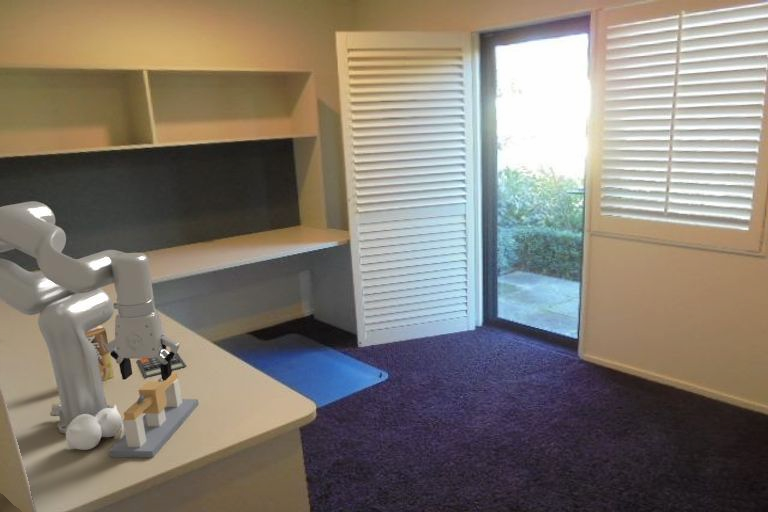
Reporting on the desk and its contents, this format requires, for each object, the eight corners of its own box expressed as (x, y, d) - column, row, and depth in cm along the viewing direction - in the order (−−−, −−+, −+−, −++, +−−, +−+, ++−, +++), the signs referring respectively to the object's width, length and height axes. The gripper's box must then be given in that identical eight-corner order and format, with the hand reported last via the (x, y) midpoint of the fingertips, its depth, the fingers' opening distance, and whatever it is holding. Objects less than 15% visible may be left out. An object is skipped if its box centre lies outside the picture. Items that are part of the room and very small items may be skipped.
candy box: (109, 373, 164) (100, 324, 161) (115, 377, 161) (105, 327, 158) (77, 384, 158) (67, 334, 154) (82, 388, 155) (72, 337, 152)
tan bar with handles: (123, 432, 122) (118, 407, 120) (167, 388, 141) (164, 367, 139) (140, 432, 121) (136, 407, 120) (182, 388, 140) (179, 367, 139)
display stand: (110, 456, 121) (103, 424, 119) (161, 404, 144) (157, 376, 142) (153, 457, 120) (147, 424, 118) (198, 404, 142) (194, 375, 140)
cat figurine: (114, 393, 130) (61, 414, 121) (138, 426, 126) (84, 450, 117) (109, 416, 135) (57, 438, 125) (131, 449, 131) (79, 474, 121)
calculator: (175, 349, 178) (186, 365, 165) (175, 352, 178) (186, 368, 166) (136, 359, 172) (144, 376, 159) (136, 362, 172) (145, 379, 160)
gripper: (90, 313, 122) (102, 384, 126) (165, 314, 120) (174, 385, 124) (110, 302, 129) (121, 369, 133) (181, 302, 127) (189, 371, 132)
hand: (147, 377), depth 129 cm, fingers open, 9 cm apart
